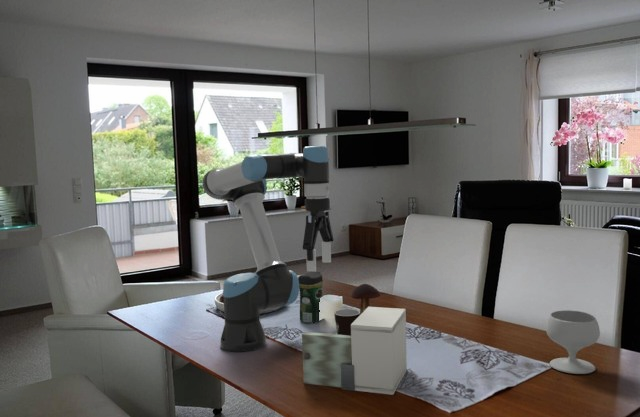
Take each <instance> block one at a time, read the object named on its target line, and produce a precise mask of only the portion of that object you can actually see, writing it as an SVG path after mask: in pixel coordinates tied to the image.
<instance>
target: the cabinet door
mask: <svg viewBox="0 0 640 417" xmlns="http://www.w3.org/2000/svg"><path fill="white" fill-rule="evenodd" d="M301 346H302V347H301V348H302V351H301V354H302V372H303V373H302V375H303V376H302V378H303V384H309V385H317V386H326V387H335V388H342V386H341V363H345V364H352V349H351V336H348V335H337V333H336V334H333V333H322V332H311V331H310V332H309V331H304V332H302V333H301Z"/></svg>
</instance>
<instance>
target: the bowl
mask: <svg viewBox="0 0 640 417" xmlns="http://www.w3.org/2000/svg"><path fill="white" fill-rule="evenodd" d="M214 304H215V307H216V308H217V309H218V310H219V311H221V312H222V313H224V298H223V292H220V293H219V294H217V295H215V297H214ZM280 308H282V307H281V306H280V307H276V308H271V309H266V310H261V311H259V315H262V314H268V313H271V312H274V311H275V312H276V311H277V310H279V309H280Z"/></svg>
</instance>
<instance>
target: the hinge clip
mask: <svg viewBox="0 0 640 417" xmlns="http://www.w3.org/2000/svg"><path fill="white" fill-rule="evenodd" d="M341 386H342V387H341V390H344V391H351V392H352V391H355V379H354V365H352V364H345V363H341ZM355 392H356V391H355Z"/></svg>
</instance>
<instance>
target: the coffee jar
mask: <svg viewBox="0 0 640 417" xmlns="http://www.w3.org/2000/svg"><path fill="white" fill-rule="evenodd" d="M297 277H298V280H299V321H300V322H301V323H303V324H307V325H309V324H316V323H319V322H320V321H319V312H320V310H319V302H320V298H321V297H323V296H324V295H323V283H324V281H323V279H324V278H323V275H322V273H321V272H319V271H316V272H313V271H308V272H307V273H304V274H300V275H299V276H297Z"/></svg>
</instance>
